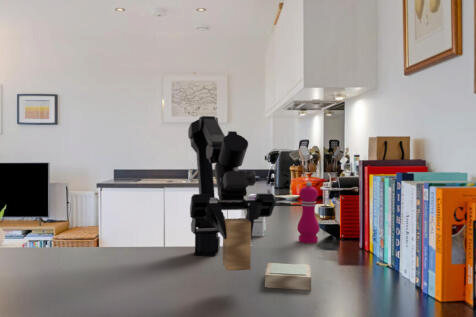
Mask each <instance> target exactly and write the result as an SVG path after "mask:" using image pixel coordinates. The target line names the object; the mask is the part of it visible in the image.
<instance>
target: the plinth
mask: <svg viewBox="0 0 476 317" xmlns="http://www.w3.org/2000/svg"><path fill="white" fill-rule="evenodd" d="M266 287H267V289H268V288H269V289H273V288H274V289H287V290H288V289H289V290H302V291H303V290H306V291H311V290H312V273H311V266H310V264H299V263H279V262H276V263H275V262H267V265H266V269H265V273H264V288H266Z"/></svg>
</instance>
